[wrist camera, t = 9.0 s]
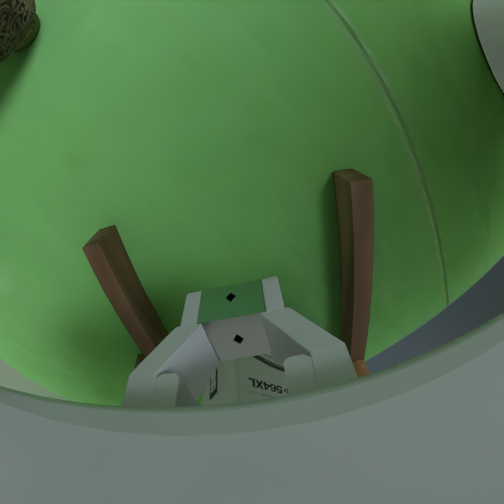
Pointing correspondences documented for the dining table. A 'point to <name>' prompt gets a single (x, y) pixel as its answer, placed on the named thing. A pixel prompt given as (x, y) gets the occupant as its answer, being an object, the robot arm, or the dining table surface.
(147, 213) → the dining table surface
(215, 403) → the ink box
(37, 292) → the dining table surface
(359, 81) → the dining table surface
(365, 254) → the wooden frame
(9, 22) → the cup
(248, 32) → the dining table surface
